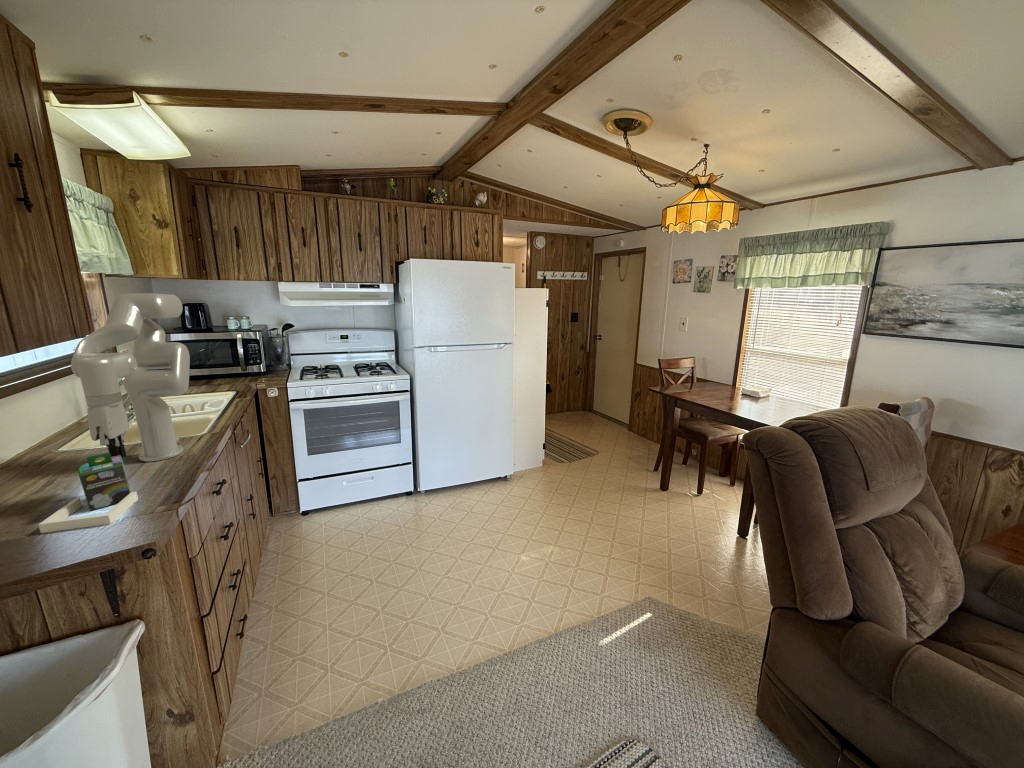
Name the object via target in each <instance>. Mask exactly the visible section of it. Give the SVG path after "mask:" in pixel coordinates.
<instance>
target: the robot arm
mask: <svg viewBox="0 0 1024 768" xmlns="http://www.w3.org/2000/svg"><path fill="white" fill-rule="evenodd" d="M183 309H184V308H183V303H182V301H181V299H180V297H178V296H177V295H175V294H169V293H167V294H164V293H150V292H149V293H148V292H146V293H142V292H141V293H140V292H139V293H136V292H135V293H122V294H119V295H117V296H116V297H115V298H114V300H113V302H112V304H111V307H110V310H109V313H108V315H107V319H106V321H105V324H104V326H101V327H100V328H97V329H96V330H94V331H92V332H90V334H88V335H86V336H85V337H83V338H82V339H81V340H80V341H79V342H78V343H77V345H76V347H75V349H74V352H73V355H72V357H71V362H70V369H71V372H72V373H73V374H74V375H75V376H76V377H77V378H79V379H80V383H81V387H82V390H83V394H84V399H85V402H86V405H87V407H86V408H87V412H86V414H87V422H88V423H87V425H88V428H89V429H88V430H89V435H90V439H91V440H92V441H99V444H100V446H106V448H107V449H108V452H109V453H110V455H111V457H114V456H118V455H121V457H122V459H124V458H125V457H126V456H127V452H126V447H125V438H124V437H125V435H126V434H127V431H128V430H129V429H130V424H129V418H128V415H127V412H126V408H125V406H124V404H123V403H124V400H123V396H122V392H121V388H120V384H119V380H118V378H124V380H123V386H124V390H125V392H126V393H127V396H128V399H129V400H130V402H131V405H132V408H133V412H134V416H135V420H136V425H137V429H138V432H139V438H140V443H141V447H142V450H143V451H142V453H140V454H139V455H138V459H139V461H141V462H145V463H146V462H157V461H163V460H167V459H171V458H173V457H176V456H178V455H180V454H182V453H183V452H184V447H183V446H181V445H178V444H177V442H178V441H179V440H180V436H177V435H175V434H176V433H175V429H174V424H173V419H172V415H171V409H170V406H169V404H168V403H167V402H166V401H165V400H164V399H163V398H162V397H171V396H180V395H184V394H185V393H187V391H188V390H189V385H190V367H191V366H190V365H191V364H190V363H191V359H190V358H191V357H190V352H189V349H188V347H187V346H186V345H185V344H184V343H182V342H177V341H176V342H175V341H174V342H173V341H172V342H166V335H167V334H166V332H165V330H164V329H163V328H162V326H160V325H158V323H156V322H155V321H153V319H174V318H179V317H180V316H181V315H182V313H183ZM129 342H133V349H132V350H133V351H132V354H130V353H127V352H105V351H107V350H108V349H111V348H112V349H113V348H114V347H118V346H121V345H124V344H126V343H129ZM137 369H141V370H139V371H138V370H137Z"/></svg>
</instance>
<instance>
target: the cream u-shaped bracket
mask: <svg viewBox="0 0 1024 768" xmlns="http://www.w3.org/2000/svg"><path fill="white" fill-rule="evenodd" d="M138 500H139V497H138V493H137V491H131V493H130V494H129V495H127V496H126V497H125V498H124V499H123V500H122V501H120V502H119V503H117V504H115V505H114V506H113V507H112V508H111V509H110V510H108V511H107V512H105V513H103V514H102V513H101V514H93V515H86V516H77V517H71V518H70V516H71V515H72V514H74V513H75V512H76V511H78V510H79V509H80V508H81V507H83V504H82V501H81V498H74V499H73V500H71V501H70V502H68V503H66V505H64V506H62V507H61V508H60V509H58V510H57V511H55V512H53V514H51V515H50V516H48V517H47V518H45V519H44V520H43V521H41V522H39V524H38V528H39V531H40V534H46V533H54V532H61V531H67V530H75V528H76V529H82V528H90V527H91V528H92V527H96V526H104V525H110V524H112V523H113V522H114V521H116V520H117V519H118V518H119V517H120V516H121V515H122V514H124V513H125V512H126V511H127V510H128V509H129V508H130V507H131V506H133V505H134V504H135V503H136V502H137V501H138ZM134 502H135V503H134ZM133 503H134V504H133ZM78 508H79V509H78ZM77 509H78V510H77ZM74 511H75V512H74ZM73 512H74V513H73ZM70 514H71V515H70ZM69 515H70V516H69ZM68 517H69V518H68ZM65 518H66V519H65Z"/></svg>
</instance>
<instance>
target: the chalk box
mask: <svg viewBox="0 0 1024 768" xmlns="http://www.w3.org/2000/svg"><path fill="white" fill-rule="evenodd" d="M98 458H100V459H98ZM101 458H102V459H101ZM86 460H87V462H85V463H81V464H79V465H78V477H79V481H80V483H81V487H82V490H83V493H84V497H85V499H86V503H87V506H88V509H89V511H90V512H92V511H94V510H97V509H101V508H106V507H109V506H113V505H117V504H118V503H119V502H120V501H122V500H123V499H124V498H125V497H126V496H127V495H129V494H130V493H131V492H132V490H131V486H130V483H129V478H128V475H127V472H126V469H125V468H126V467H125V465H124V461H123V458H122V457H121V455H118V456H114V457H111V455H110V453H109V451H107V452H103V453H102V452H101V453H98V454H93V455H89V456H87V457H86Z"/></svg>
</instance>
